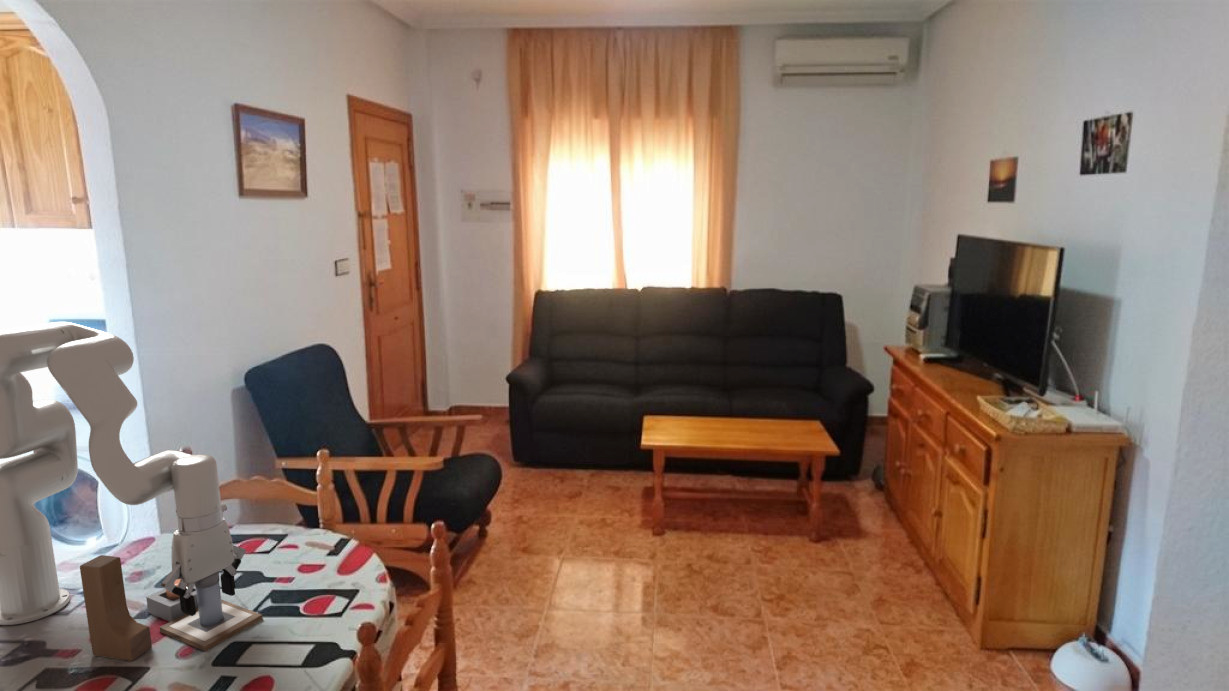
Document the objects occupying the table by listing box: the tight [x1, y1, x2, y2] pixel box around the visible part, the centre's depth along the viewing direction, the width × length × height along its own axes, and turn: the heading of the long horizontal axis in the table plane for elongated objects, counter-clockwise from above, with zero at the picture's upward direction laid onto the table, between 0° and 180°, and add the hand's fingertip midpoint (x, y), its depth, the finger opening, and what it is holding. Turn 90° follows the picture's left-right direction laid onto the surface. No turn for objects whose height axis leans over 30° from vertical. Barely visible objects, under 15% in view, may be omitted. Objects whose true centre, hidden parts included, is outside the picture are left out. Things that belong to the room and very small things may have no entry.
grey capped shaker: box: [195, 571, 223, 626], centre depth 138 cm, size 4×4×10 cm
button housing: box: [146, 585, 198, 623], centre depth 145 cm, size 8×8×4 cm
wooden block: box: [79, 554, 153, 662], centre depth 129 cm, size 9×4×18 cm, turn 78°
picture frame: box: [159, 598, 264, 652], centre depth 139 cm, size 14×12×1 cm
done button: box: [166, 579, 187, 600], centre depth 145 cm, size 4×4×2 cm
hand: (209, 602), depth 139 cm, fingers open, 7 cm apart
